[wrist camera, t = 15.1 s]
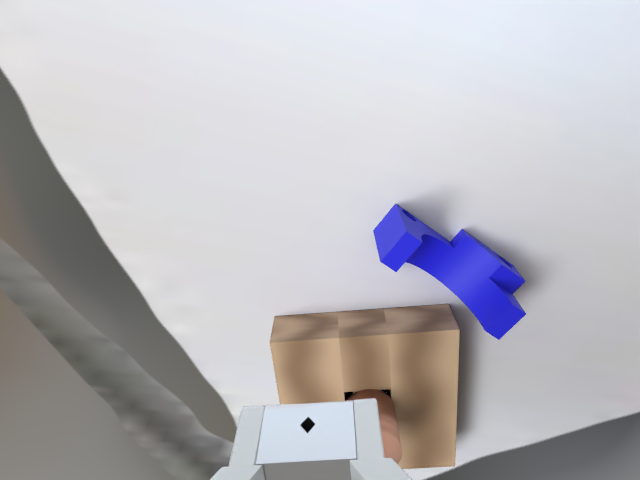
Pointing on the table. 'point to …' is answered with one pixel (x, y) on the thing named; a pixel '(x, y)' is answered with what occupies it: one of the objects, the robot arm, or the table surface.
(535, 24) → the table surface
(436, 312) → the board
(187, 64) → the table surface
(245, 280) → the table surface
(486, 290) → the cable clip
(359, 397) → the peg
